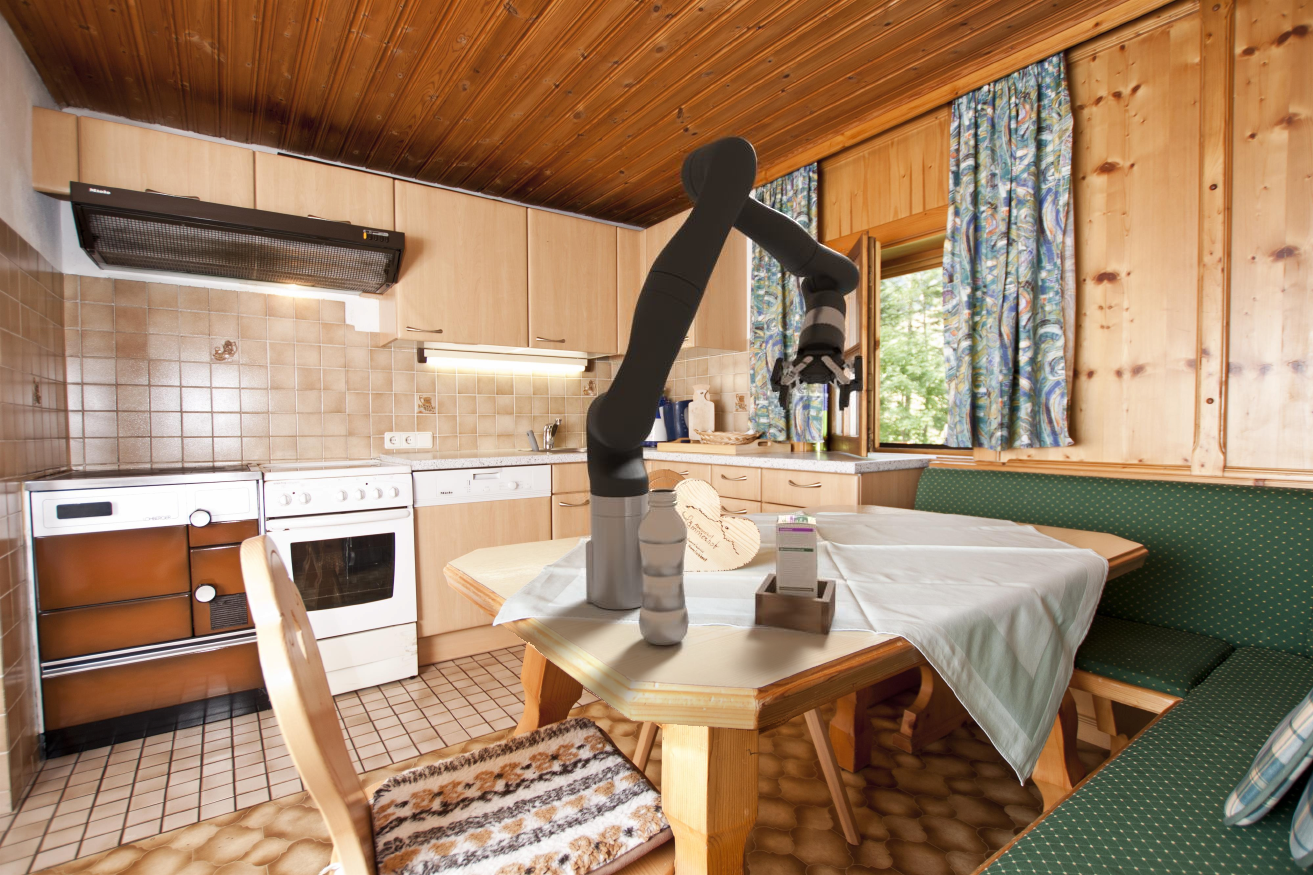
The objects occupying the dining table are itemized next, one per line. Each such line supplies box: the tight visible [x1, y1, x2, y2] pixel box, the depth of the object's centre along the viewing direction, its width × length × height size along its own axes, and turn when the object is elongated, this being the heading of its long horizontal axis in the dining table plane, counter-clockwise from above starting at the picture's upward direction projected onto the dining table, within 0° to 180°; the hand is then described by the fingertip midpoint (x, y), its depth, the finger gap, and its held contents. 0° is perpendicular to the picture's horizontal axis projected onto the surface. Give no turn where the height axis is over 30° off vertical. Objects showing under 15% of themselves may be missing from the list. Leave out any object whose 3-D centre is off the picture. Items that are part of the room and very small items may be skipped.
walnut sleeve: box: [754, 573, 837, 636], centre depth 85 cm, size 10×10×4 cm
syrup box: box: [775, 514, 818, 598], centre depth 84 cm, size 6×6×14 cm
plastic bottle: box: [638, 488, 690, 646], centre depth 76 cm, size 6×7×20 cm
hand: (812, 406), depth 90 cm, fingers open, 8 cm apart
